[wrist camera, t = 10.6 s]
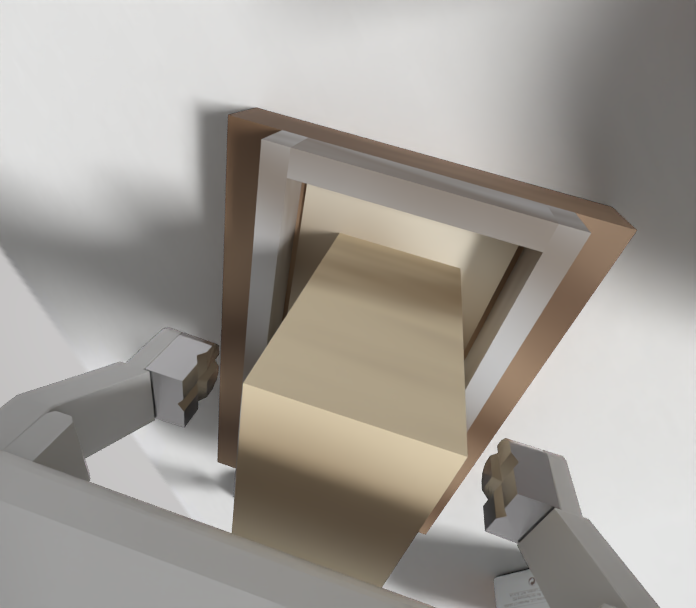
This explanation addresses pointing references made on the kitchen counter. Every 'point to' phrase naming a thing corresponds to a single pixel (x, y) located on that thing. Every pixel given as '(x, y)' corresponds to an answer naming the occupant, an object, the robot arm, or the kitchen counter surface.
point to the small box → (518, 591)
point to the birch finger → (355, 412)
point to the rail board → (408, 236)
